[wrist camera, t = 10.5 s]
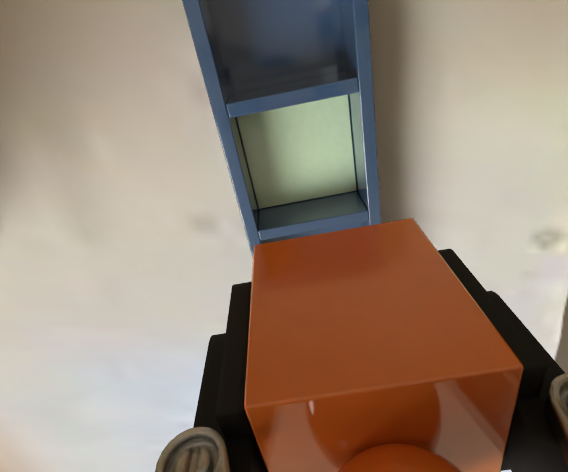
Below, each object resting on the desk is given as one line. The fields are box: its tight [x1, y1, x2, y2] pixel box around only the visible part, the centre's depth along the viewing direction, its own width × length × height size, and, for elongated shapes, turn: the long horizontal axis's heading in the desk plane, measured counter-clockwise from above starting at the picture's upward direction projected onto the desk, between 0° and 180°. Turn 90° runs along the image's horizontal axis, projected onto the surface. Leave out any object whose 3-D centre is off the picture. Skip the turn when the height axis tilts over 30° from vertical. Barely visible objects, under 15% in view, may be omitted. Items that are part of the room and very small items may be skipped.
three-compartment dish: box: [182, 0, 381, 257], centre depth 21 cm, size 8×22×4 cm, turn 11°
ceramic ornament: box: [244, 218, 524, 472], centre depth 8 cm, size 4×4×8 cm
